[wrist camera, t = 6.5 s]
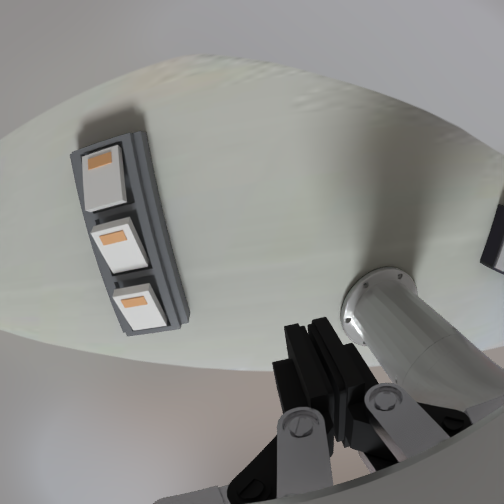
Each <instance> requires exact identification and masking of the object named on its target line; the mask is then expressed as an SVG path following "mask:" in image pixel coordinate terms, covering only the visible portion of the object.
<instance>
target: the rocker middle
mask: <svg viewBox="0 0 504 504" xmlns="http://www.w3.org/2000/svg"><path fill="white" fill-rule="evenodd" d="M91 235H92V237H93V239H94V240H95V242H96V244H97V246H98V248H99V250H100V251H101V253H102V255H103V257H104V258H105V260H106V262H107V264H108V265H109V267H110V269H111V271H112V272H113V274H114V273H119V272H123V271H128V270H133V269H138V268H143V267H148V262H149V258H148V256H147V254H146V252H145V250H144V247H143V245H142V243H141V241H140V239H139V236H138V234H137V232H136V230H135V227H134V225H133V223H132V220H131V218H130V217H127V218H123V219H119V220H115V221H111V222H107V223H103V224H100V225H96V226H93V229H92V231H91Z"/></svg>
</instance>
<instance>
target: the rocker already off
mask: <svg viewBox="0 0 504 504" xmlns="http://www.w3.org/2000/svg"><path fill="white" fill-rule="evenodd" d="M113 299H114V301H115V302H116V304H117V305H118V307H119V309H120V310H121V312H122V313H123V315H124V317H125V318H126V320H127V321H128V323H129V324H130V326H131V327H132V329H133V330H141V329H148V328H155V327H161V326H167V317H166V315H165V313H164V311H163V309H162V307H161V305H160V303H159V301H158V299H157V297H156V295H155V293H154V291H153V289H152V287H151V285H150V283H147V284H141V285H136V286H131V287H125V288H120V289H114V293H113Z"/></svg>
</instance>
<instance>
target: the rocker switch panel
mask: <svg viewBox="0 0 504 504" xmlns="http://www.w3.org/2000/svg"><path fill="white" fill-rule="evenodd" d="M116 145H119V146H120V147H121V148H122V156H123V169H124V179H125V189H126V198H127V202H126V203H122V204H118V205H114V206H111V207H107V208H104V209H100V210H96V211H93V212H88V211H85V202H84V189H83V170H82V157H83V156H86V155H89V154H91V153H94V152H97V151H100V150H103V149H106V148H109V147H113V146H116ZM70 158H71V163H72V168H73V173H74V178H75V183H76V187H77V192H78V196H79V200H80V204H81V208H82V212H83V216H84V220H85V223H86V227H87V231H88V234H89V238H90V241H91V244H92V248H93V251H94V254H95V257H96V260H97V263H98V266H99V270H100V272H101V275H102V278H103V281H104V284H105V287H106V290H107V292H108V295H109V298H110V300H111V303H112V306H113V308H114V311H115V313H116V316H117V318H118V321H119V323H120V326H121V328H122V330H123V333H124V332H126V335H127V336H134V335H141V334H149V333H156V332H162V331H169V330H176V329H181V324H184V323H188V322H189V317H190V311H189V307H188V304H187V301H186V297H185V294H184V290H183V287H182V283H181V280H180V276H179V273H178V269H177V266H176V262H175V258H174V254H173V251H172V247H171V243H170V239H169V235H168V231H167V227H166V223H165V219H164V215H163V210H162V206H161V202H160V197H159V193H158V188H157V184H156V179H155V175H154V170H153V165H152V160H151V155H150V150H149V145H148V139H147V134H146V132H143V131H138V132H135V133H126V134H123V135H120V136H117V137H114V138H111V139H107V140H104V141H101V142H99V143H96V144H93V145H90V146H87V147H84V148H82V149H79V150H76V151H74V152H72V154H70ZM127 217H130V218H131V220H132V223H133V225H134V227H135V230H136V232H137V234H138V236H139V239H140V241H141V243H142V245H143V247H144V250H145V252H146V254H147V256H148V258H149V262H148V267H143V268H138V269H133V270H128V271H123V272H119V273H114V274H113V272H112V271H111V269H110V267H109V265H108V264H107V262H106V260H105V258H104V257H103V255H102V253H101V251H100V250H99V248H98V246H97V244H96V242H95V240H94V239H93V237H92V235H91V231H92V229H93V226H96V225H100V224H103V223H107V222H111V221H115V220H119V219H123V218H127ZM147 283H150V285H151V287H152V289H153V291H154V293H155V295H156V297H157V299H158V301H159V303H160V305H161V307H162V309H163V311H164V313H165V315H166V317H167V326H161V327H155V328H148V329H141V330H133V329H132V327H131V326H130V324H129V323H128V321H127V320H126V318H125V317H124V315H123V313H122V312H121V310H120V309H119V307H118V305H117V304H116V302H115V301H114V299H113V293H114V289H120V288H125V287H131V286H136V285H141V284H147Z"/></svg>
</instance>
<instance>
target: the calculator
mask: <svg viewBox="0 0 504 504" xmlns="http://www.w3.org/2000/svg"><path fill="white" fill-rule="evenodd" d="M480 263H482V264H483V265H485V266H487V267H489V268H491V269H493V270H495V271H497V272H499V273H502V274H504V206H503V205H500V204H499V205H498V207H497V211H496V214H495V218H494V221H493V224H492V227H491V231H490V234H489V237H488V240H487V243H486V245H485V248H484V251H483V254H482V256H481V259H480Z"/></svg>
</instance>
